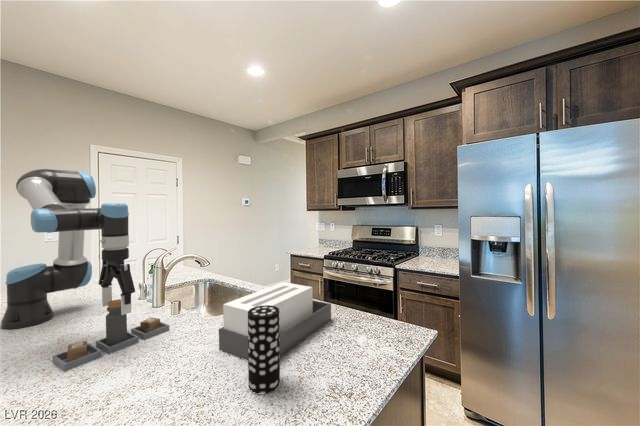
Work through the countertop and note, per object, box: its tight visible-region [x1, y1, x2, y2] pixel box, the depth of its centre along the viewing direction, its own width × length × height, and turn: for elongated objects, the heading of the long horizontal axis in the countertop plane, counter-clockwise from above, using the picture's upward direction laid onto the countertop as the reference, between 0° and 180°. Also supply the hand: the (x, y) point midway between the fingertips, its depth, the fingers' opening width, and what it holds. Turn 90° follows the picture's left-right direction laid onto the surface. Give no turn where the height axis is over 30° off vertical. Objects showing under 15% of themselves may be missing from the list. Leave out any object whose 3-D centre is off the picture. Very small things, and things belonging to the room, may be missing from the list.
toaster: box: [222, 281, 314, 337], centre depth 105 cm, size 35×16×15 cm, turn 149°
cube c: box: [66, 340, 88, 362], centre depth 87 cm, size 4×4×5 cm
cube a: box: [139, 317, 161, 333], centre depth 106 cm, size 4×4×5 cm
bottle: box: [105, 298, 128, 347], centre depth 97 cm, size 6×6×15 cm
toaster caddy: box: [218, 300, 332, 361], centre depth 106 cm, size 21×40×7 cm, turn 149°
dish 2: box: [95, 331, 140, 355], centre depth 97 cm, size 9×9×2 cm
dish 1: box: [52, 343, 103, 372], centre depth 87 cm, size 9×9×2 cm
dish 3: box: [130, 321, 170, 341], centre depth 106 cm, size 9×9×2 cm
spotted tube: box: [247, 305, 281, 394], centre depth 75 cm, size 8×8×20 cm
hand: (116, 309), depth 97 cm, fingers open, 13 cm apart
